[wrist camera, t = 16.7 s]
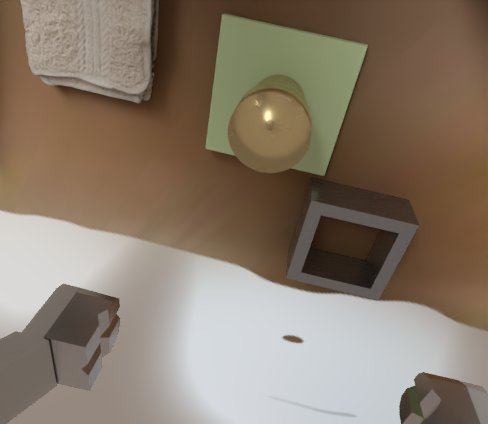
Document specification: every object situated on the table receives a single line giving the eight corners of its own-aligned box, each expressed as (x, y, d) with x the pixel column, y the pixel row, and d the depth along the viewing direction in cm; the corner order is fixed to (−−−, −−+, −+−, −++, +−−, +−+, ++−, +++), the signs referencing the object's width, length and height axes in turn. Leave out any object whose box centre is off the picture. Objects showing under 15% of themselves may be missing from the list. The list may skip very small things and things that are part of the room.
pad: (207, 144, 38) (205, 148, 37) (224, 13, 31) (222, 14, 30) (324, 171, 38) (324, 176, 37) (366, 44, 31) (367, 46, 30)
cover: (239, 126, 35) (222, 163, 29) (251, 60, 32) (234, 84, 25) (302, 140, 35) (299, 180, 28) (320, 75, 32) (321, 104, 25)
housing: (288, 252, 44) (285, 278, 40) (311, 177, 38) (311, 200, 34) (372, 271, 43) (378, 300, 40) (408, 200, 38) (419, 225, 34)
